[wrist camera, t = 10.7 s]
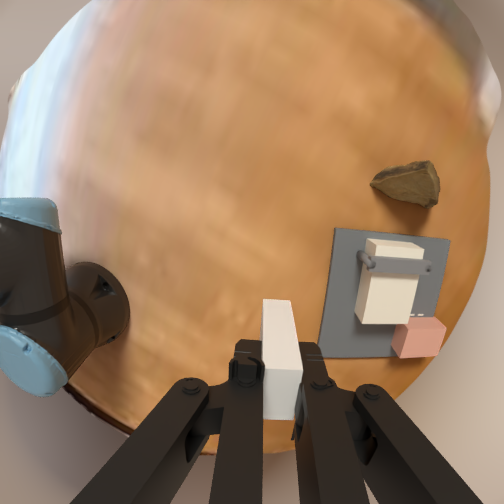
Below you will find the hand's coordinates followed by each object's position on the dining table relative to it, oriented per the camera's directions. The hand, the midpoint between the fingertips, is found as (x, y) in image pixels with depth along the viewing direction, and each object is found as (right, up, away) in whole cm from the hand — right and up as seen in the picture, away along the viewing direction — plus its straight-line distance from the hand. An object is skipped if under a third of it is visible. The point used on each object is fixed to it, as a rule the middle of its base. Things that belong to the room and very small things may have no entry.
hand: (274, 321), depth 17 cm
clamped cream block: (+20, 0, +29) cm, 35 cm away
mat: (+21, -4, +31) cm, 37 cm away
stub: (+27, -10, +31) cm, 43 cm away
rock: (+23, +14, +26) cm, 37 cm away
